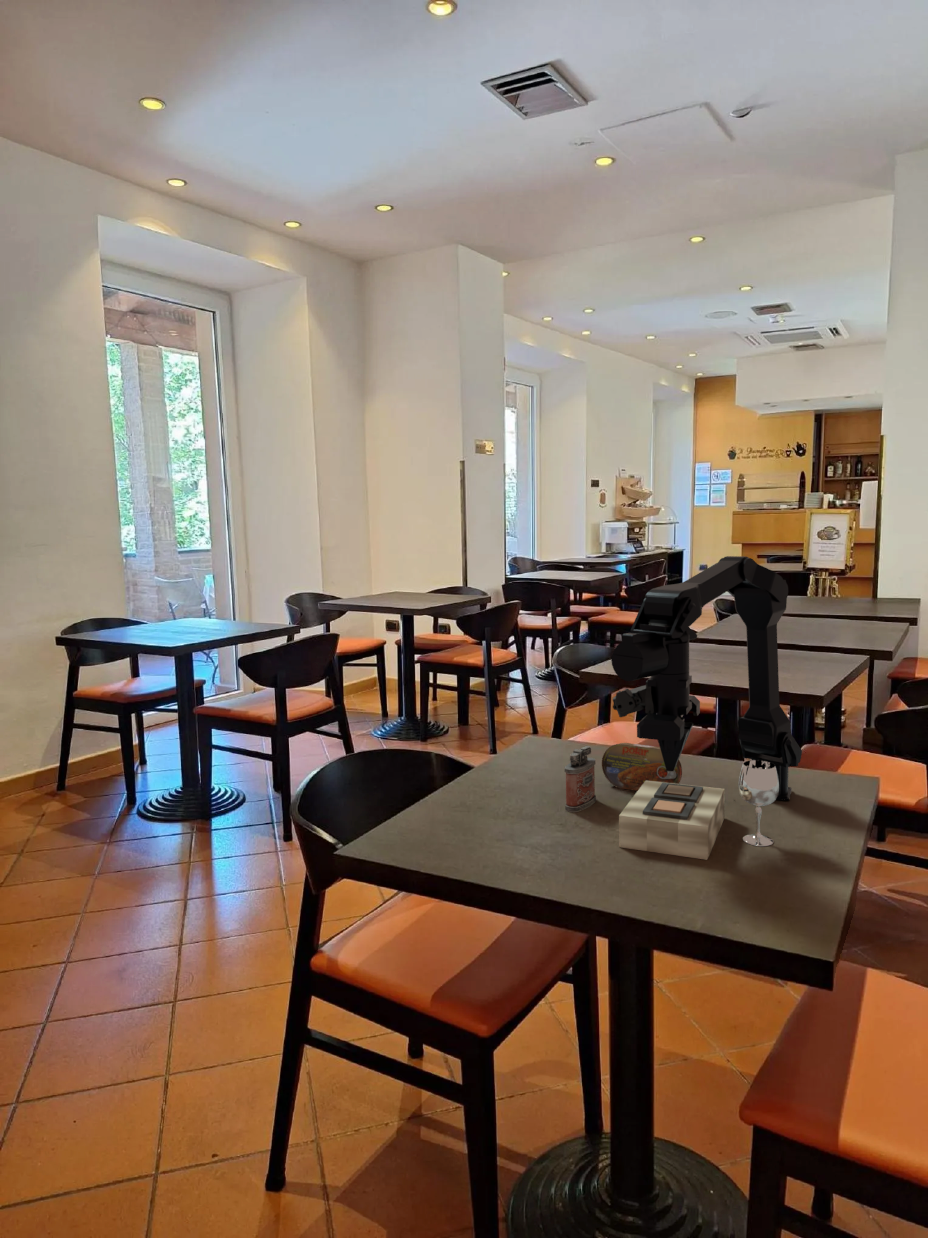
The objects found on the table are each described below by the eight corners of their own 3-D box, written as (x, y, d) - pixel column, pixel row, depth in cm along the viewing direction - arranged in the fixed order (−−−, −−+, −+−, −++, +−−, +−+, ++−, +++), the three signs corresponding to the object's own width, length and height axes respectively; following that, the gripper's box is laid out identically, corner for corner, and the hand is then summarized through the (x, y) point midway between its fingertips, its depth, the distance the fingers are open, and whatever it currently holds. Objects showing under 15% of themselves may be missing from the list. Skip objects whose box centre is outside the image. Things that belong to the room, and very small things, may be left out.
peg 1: (668, 815, 135) (668, 784, 135) (693, 818, 133) (693, 787, 133) (663, 823, 132) (663, 792, 131) (689, 826, 130) (689, 795, 129)
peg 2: (658, 832, 128) (658, 800, 127) (684, 835, 126) (684, 803, 126) (653, 841, 124) (653, 808, 124) (679, 844, 123) (679, 811, 122)
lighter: (577, 813, 139) (577, 756, 137) (560, 809, 141) (559, 753, 139) (600, 800, 145) (599, 745, 144) (583, 796, 147) (582, 742, 146)
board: (645, 808, 140) (645, 777, 139) (724, 818, 134) (724, 786, 134) (619, 847, 124) (619, 812, 123) (707, 859, 118) (707, 823, 118)
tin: (601, 785, 153) (600, 741, 152) (608, 780, 156) (608, 737, 155) (677, 799, 144) (677, 752, 143) (684, 794, 147) (684, 748, 146)
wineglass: (753, 850, 121) (754, 772, 120) (730, 836, 127) (731, 761, 125) (786, 845, 123) (787, 767, 121) (762, 831, 128) (763, 757, 127)
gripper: (631, 658, 135) (632, 749, 137) (601, 680, 119) (603, 783, 120) (700, 661, 131) (700, 755, 133) (679, 684, 114) (679, 791, 116)
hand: (670, 770), depth 125 cm, fingers closed
